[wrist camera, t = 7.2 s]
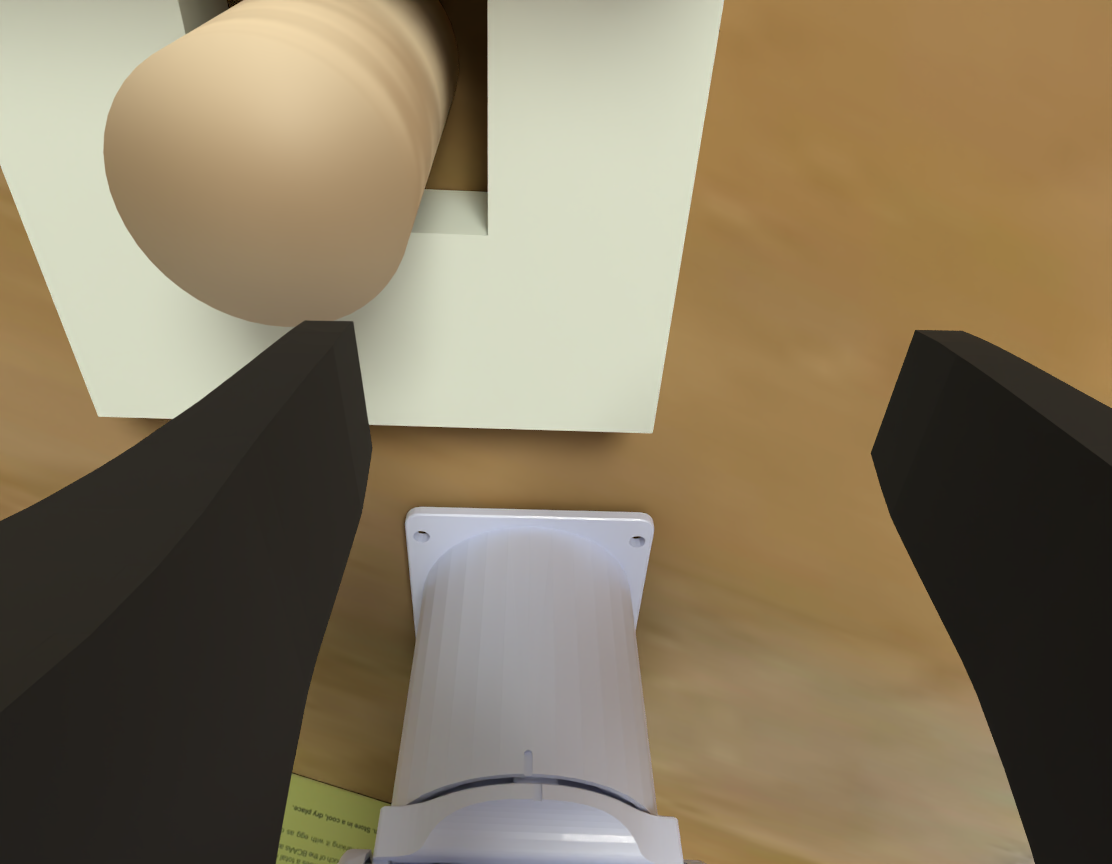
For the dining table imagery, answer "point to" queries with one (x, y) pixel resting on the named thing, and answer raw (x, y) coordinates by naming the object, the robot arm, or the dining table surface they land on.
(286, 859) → the protein box
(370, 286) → the peg
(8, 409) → the dining table surface
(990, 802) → the dining table surface
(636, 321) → the socket board
